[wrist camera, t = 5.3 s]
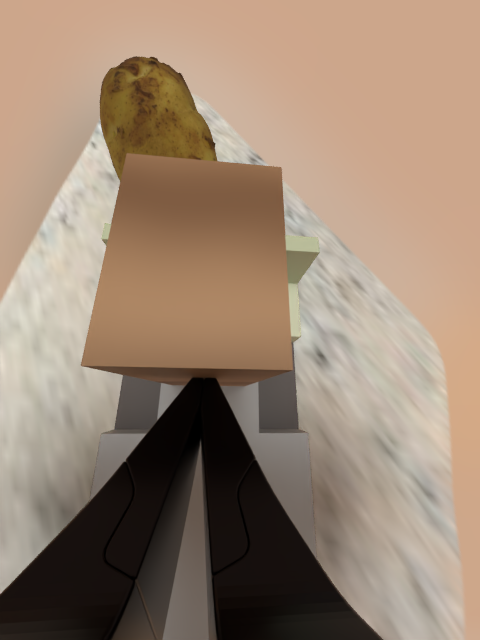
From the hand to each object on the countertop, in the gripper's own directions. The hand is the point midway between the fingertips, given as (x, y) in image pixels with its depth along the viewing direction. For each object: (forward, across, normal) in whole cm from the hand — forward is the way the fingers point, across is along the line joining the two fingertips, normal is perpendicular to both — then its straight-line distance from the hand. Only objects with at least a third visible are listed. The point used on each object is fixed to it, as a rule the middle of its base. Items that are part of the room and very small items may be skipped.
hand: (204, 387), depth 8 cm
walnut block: (+7, 0, +2) cm, 7 cm away
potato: (+17, +4, -5) cm, 18 cm away
